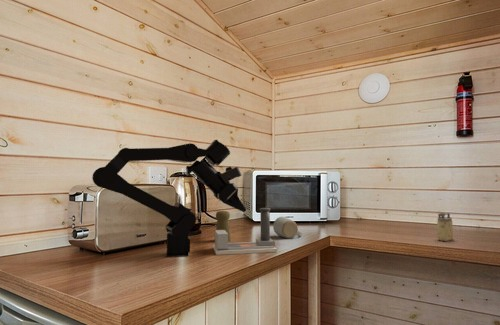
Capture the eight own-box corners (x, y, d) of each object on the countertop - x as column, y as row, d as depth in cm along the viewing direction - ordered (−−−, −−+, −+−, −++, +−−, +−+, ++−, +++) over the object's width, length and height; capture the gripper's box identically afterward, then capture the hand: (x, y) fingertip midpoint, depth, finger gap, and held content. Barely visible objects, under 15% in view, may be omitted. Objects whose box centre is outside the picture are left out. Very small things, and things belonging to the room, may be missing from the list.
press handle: (259, 247, 106) (259, 209, 106) (255, 243, 111) (255, 207, 112) (274, 246, 106) (274, 209, 107) (270, 243, 112) (270, 207, 113)
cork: (228, 242, 119) (228, 211, 120) (212, 242, 121) (212, 211, 121) (232, 239, 125) (232, 210, 126) (217, 239, 127) (217, 210, 127)
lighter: (445, 238, 128) (444, 212, 128) (455, 239, 125) (455, 212, 125) (435, 240, 124) (435, 213, 124) (446, 241, 121) (445, 214, 121)
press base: (216, 254, 101) (216, 234, 101) (213, 247, 110) (213, 229, 111) (276, 252, 104) (276, 232, 105) (268, 245, 114) (268, 228, 114)
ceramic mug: (282, 239, 125) (282, 219, 126) (272, 236, 133) (273, 216, 133) (306, 238, 129) (306, 218, 130) (295, 234, 137) (296, 216, 137)
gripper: (230, 156, 98) (266, 193, 100) (223, 159, 117) (253, 190, 118) (203, 182, 97) (240, 220, 98) (200, 182, 115) (231, 213, 116)
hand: (242, 209), depth 108 cm, fingers open, 9 cm apart
